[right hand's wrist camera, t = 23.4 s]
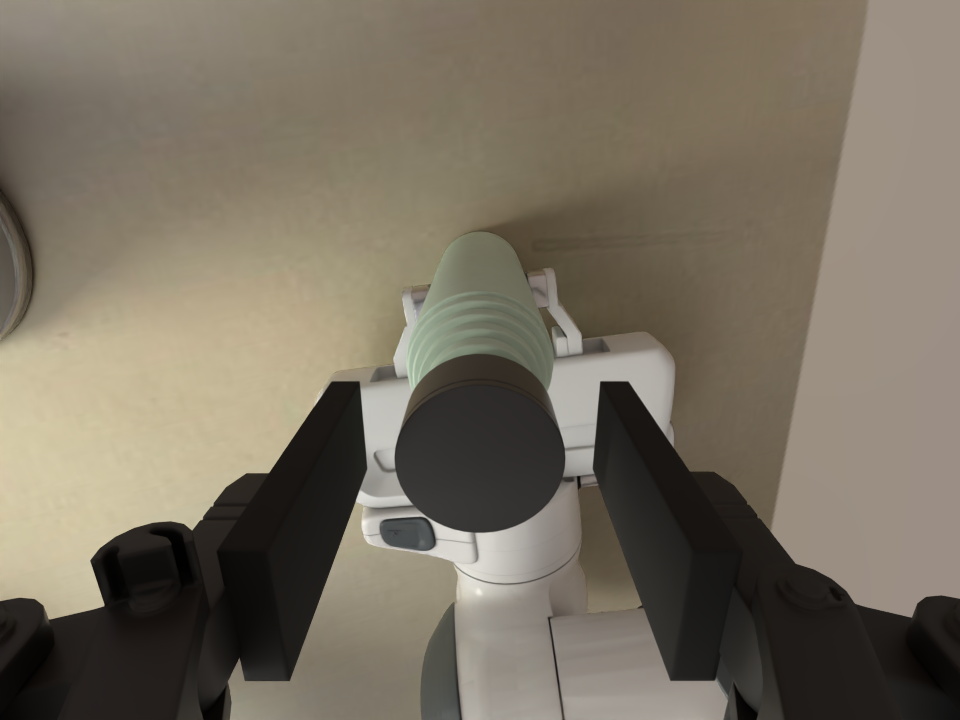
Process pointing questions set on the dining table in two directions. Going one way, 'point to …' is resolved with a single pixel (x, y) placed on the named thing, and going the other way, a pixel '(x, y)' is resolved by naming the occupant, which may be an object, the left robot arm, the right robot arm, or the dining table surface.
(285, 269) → the dining table surface
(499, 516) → the cap
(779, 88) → the dining table surface
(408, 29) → the dining table surface
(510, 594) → the left robot arm
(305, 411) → the dining table surface
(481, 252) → the bottle
